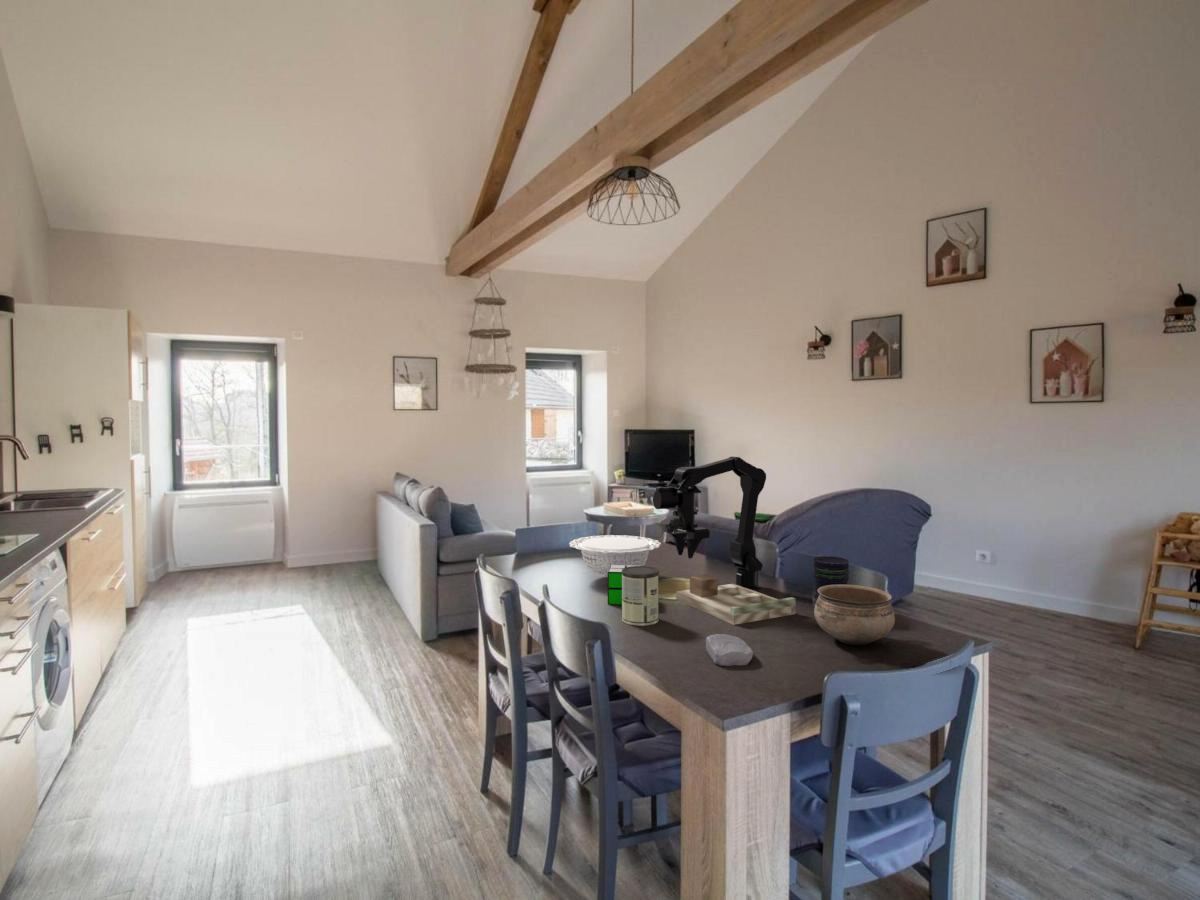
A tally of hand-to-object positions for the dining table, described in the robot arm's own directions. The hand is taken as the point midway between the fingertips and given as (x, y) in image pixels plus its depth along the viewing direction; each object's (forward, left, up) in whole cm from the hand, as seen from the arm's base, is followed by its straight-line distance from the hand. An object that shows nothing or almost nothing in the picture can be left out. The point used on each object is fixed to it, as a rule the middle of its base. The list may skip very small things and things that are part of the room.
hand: (685, 556), depth 212 cm
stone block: (+22, +51, -12) cm, 57 cm away
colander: (+11, -27, -12) cm, 31 cm away
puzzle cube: (+21, -2, -12) cm, 24 cm away
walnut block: (0, +10, -10) cm, 14 cm away
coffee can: (+27, +17, -12) cm, 34 cm away
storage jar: (-27, +34, -12) cm, 45 cm away
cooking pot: (-12, +56, -12) cm, 59 cm away
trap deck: (-5, +18, -12) cm, 22 cm away
